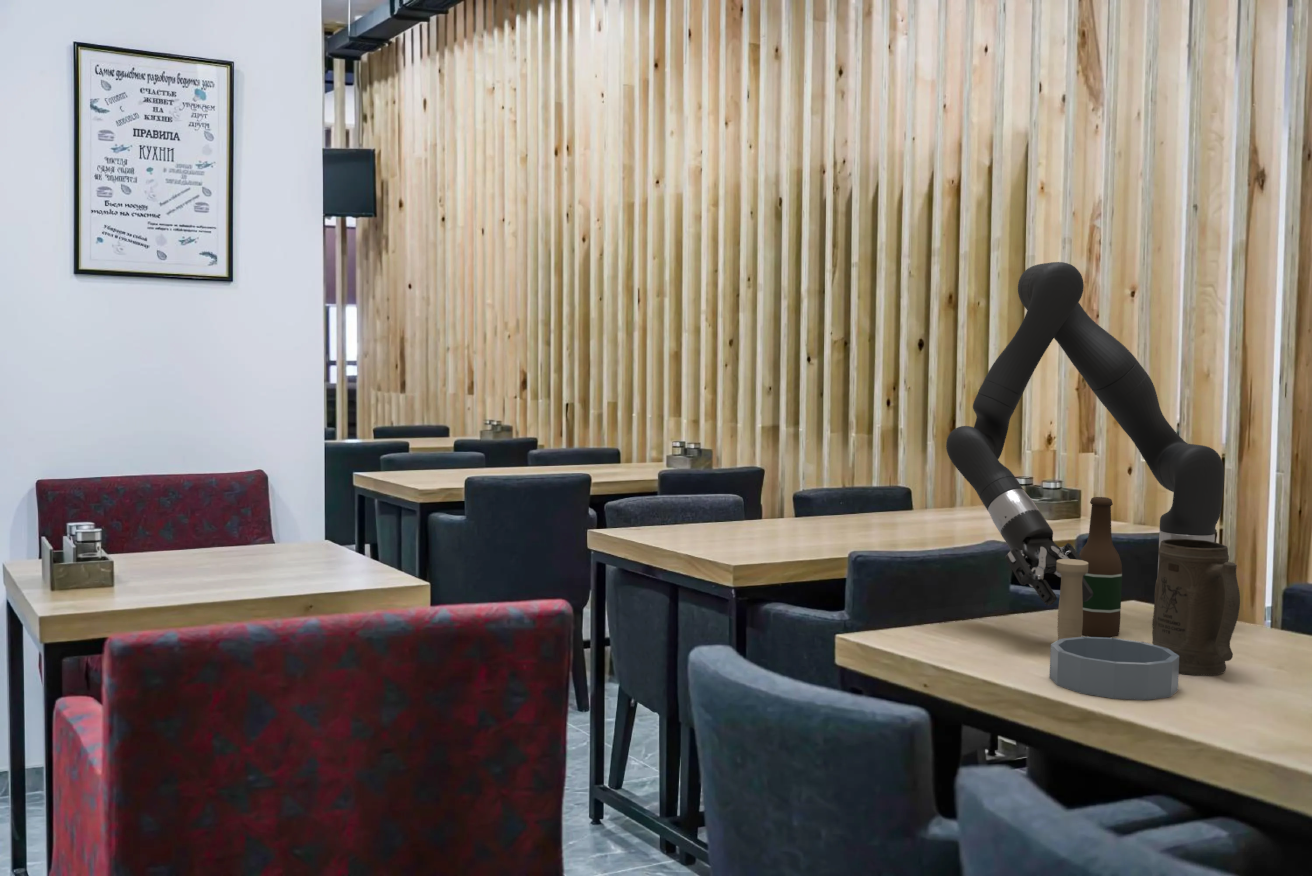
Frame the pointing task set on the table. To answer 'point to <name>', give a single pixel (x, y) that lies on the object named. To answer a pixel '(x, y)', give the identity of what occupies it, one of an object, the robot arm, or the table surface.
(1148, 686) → the bowl
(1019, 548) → the robot arm
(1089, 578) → the beer bottle
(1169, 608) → the beer stein
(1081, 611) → the handle
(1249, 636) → the table surface
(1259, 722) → the table surface
